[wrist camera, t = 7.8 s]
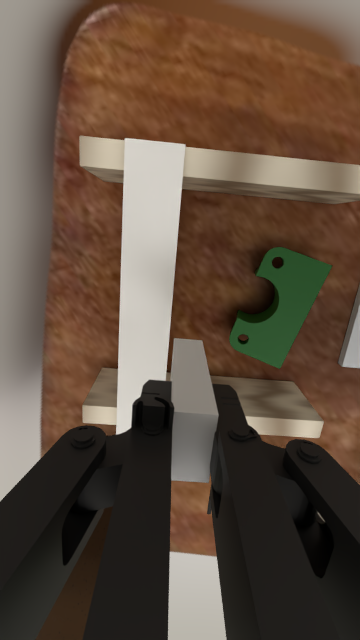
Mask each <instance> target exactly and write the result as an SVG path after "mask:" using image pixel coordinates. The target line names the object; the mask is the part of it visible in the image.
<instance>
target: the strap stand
mask: <svg viewBox="0 0 360 640" xmlns="http://www.w3.org/2000/svg"><path fill="white" fill-rule="evenodd" d="M124 150H125V140H116V139H106V138H97V137H87V136H80V166H81V167H83V168H84V169H86V170H87V171H89V172H90V173H92V174H94V175H95V176H97V177H98V178H100V179H101V180H103V181H106V182H117V183H124ZM182 189H187V190H197V191H207V192H217V193H227V194H237V195H247V196H257V197H267V198H277V199H288V200H298V201H308V202H318V203H328V204H339V203H346V202H353V201H360V165H353V164H343V163H334V162H324V161H315V160H305V159H296V158H286V157H277V156H267V155H258V154H248V153H239V152H229V151H220V150H210V149H201V148H191V147H185V156H184V168H183V179H182ZM170 378H171V373H168V372H166V381H170ZM210 378H211V383H212V384H225V385H230V386H231V387H232V388H233V389H234V390H235V391H236V392H237V395H238V398H239V400H240V403H241V406H242V409H243V412H244V414H245V417H246V420H247V423H248V425H249V426H251V427H252V428H254V429H255V430H256V431H257V432H258V434H264V435H279V436H295V437H310V438H319V437H320V434H321V430H322V426H323V423H324V421H323V420H322V418H321V417H320V416H319V415H318V413H317V412H316V411H315V409H314V408H313V407H312V405H311V404H310V403H309V401H308V400H307V399H306V398H305V396H304V395H303V394H302V392H301V391H300V390H299V388H298V387H297V386H296V384H295V383H294V382H291V381H277V380H264V379H250V378H236V377H223V376H210ZM117 388H118V369H113V368H102V369H101V371H100V373H99V374H98V376H97V378H96V380H95V382H94V384H93V386H92V388H91V390H90V392H89V394H88V396H87V398H86V400H85V401H84V403H83V423H95V424H110V425H116V422H117Z"/></svg>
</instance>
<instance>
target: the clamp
mask: <svg viewBox="0 0 360 640" xmlns="http://www.w3.org/2000/svg"><path fill="white" fill-rule="evenodd" d="M275 257H280V258H281V259H282V265H281V266H280V267H278V268H274V267H273V266H272V260H273V259H274V258H275ZM331 268H332V265H329V264H326V263H324V262H321V261H318V260H316V259H313V258H310V257H308V256H305V255H302V254H299V253H297V252H294V251H291V250H289V249H286V248H283V247H276V248H272V249H270V250H269V251H267V252H266V253H265V255H264V257H263V259H262V261H261V264H260V266H259V268H258V269H256V271H255V275H256V276H260V277H264V278H266V279H268V280H270V281H271V282H272V284H273V286H274V289H275V297H274V300H273V303H272V304H271V306H270V307H269V308H268V309H267V310H265V311H264V312H262V313H259V314H247V313H244V312H242V311H241V310H238V312H237V317H236V321H235V323H234V325H233V328H232V330H231V333H230V338H229V340H230V344H231V346H232V347H233V348H234V349H235V350H237V351H239V352H241V353H244V354H246V355H248V356H251V357H253V358H255V359H258V360H260V361H263V362H265V363H267V364H270V365H272V366H274V367H277V368H279V369H280V368H281V366H282V364H283V362H284V360H285V358H286V356H287V354H288V352H289V350H290V348H291V346H292V344H293V342H294V340H295V338H296V336H297V334H298V332H299V330H300V328H301V326H302V324H303V322H304V320H305V319H306V317H307V315H308V313H309V311H310V309H311V307H312V305H313V303H314V301H315V299H316V297H317V295H318V293H319V291H320V289H321V287H322V285H323V283H324V281H325V279H326V277H327V275H328V273H329V271H330V269H331ZM241 334H245V335H247V336H248V339H247V340H245V341H242V340H240V339H239V338H238V336H239V335H241Z"/></svg>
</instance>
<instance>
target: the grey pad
mask: <svg viewBox="0 0 360 640" xmlns="http://www.w3.org/2000/svg"><path fill="white" fill-rule="evenodd" d="M338 364H340V365H341V366H342V367H352V368H360V284H359V288H358V292H357V295H356V299H355V303H354V306H353V310H352V313H351V317H350V321H349V324H348V328H347V332H346V335H345V339H344V343H343V346H342V350H341V353H340V357H339V361H338Z"/></svg>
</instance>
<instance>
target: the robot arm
mask: <svg viewBox="0 0 360 640" xmlns="http://www.w3.org/2000/svg"><path fill="white" fill-rule="evenodd" d="M210 473H211V481H212V484H211V490H210V497H209V504H208V511H207V514H211V510H212V518H213V527H214V535H215V544H216V552H217V560H218V569H219V578H220V586H221V595H222V603H223V612H224V620H225V629H226V637H227V640H360V485H359V484H358V483H357V482H356V481H355V480H354V479H353V478H352V477H351V476H350V475H349V474H348V473H347V472H346V471H345V470H344V469H343V468H342V467H341V466H340V465H339V464H338V463H337V462H336V461H335V460H334V459H333V457H332V456H331V455H330V454H329V453H328V452H327V451H325V450H324V449H323V448H322V447H320V446H319V445H317V444H315V443H313V442H310V441H307V440H301V439H295V440H292V441H289V442H288V444H287V445H286V449H284V448H280V447H277V446H274V445H271V444H268V443H265V442H263V441H262V440H261V438H260V435H259V434H258V432H257V431H256V430H255V429H254V428H252V427H251V426H249V425H248V423H247V420H246V417H245V414H244V412H243V409H242V406H241V403H240V400H239V398H238V395H237V392H236V391H235V390H234V389H233V388H232V387H231V386H230V385H225V384H212V383H211V378H210V374H209V369H208V365H207V360H206V355H205V351H204V346H203V342H202V340H191V339H178V338H174V345H173V356H172V367H171V378H170V381H161V380H148V381H147V382H146V383H145V384H144V385H143V388H142V392H141V397H139V398H138V399H136V400H135V401H134V403H133V404H132V422H131V428H130V429H129V430H127V431H126V432H123V433H121V434H117V435H112V436H106V435H105V433H104V432H103V431H102V429H100V428H97V427H95V426H87V425H86V426H79V427H76V428H73V429H71V430H69V431H68V432H66V433H65V434H64V435H63V436H62V437H61V438H60V439H59V440H58V441H57V442H56V443H55V444H54V445H53V446H52V447H51V448H50V450H49V451H48V452H47V453H46V454H45V455H44V456H43V457H42V458H41V459H40V460H39V461H38V462H37V463H36V464H35V465H34V466H33V468H32V469H31V470H30V471H29V472H28V473H27V474H26V475H25V476H24V477H23V478H22V479H21V480H20V481H19V482H18V483H17V485H15V487H14V488H13V489H12V490H11V491H10V492H9V493H8V494H7V495H6V496H5V497H4V498H3V499H2V500H1V502H0V640H35V639H36V637H37V635H38V634H39V632H40V630H41V628H42V626H43V624H44V622H45V621H46V619H47V617H48V615H49V613H50V611H51V609H52V607H53V606H54V604H55V602H56V600H57V598H58V596H59V594H60V593H61V591H62V589H63V587H64V585H65V583H66V581H67V579H68V578H69V576H70V574H71V572H72V570H73V568H74V566H75V564H76V563H77V561H78V559H79V557H80V555H81V553H82V551H83V550H84V548H85V546H86V544H87V542H88V540H89V538H90V536H91V535H92V533H93V531H94V529H95V527H96V525H97V523H98V521H99V520H100V518H101V516H102V514H103V511H104V508H108V507H112V506H113V509H112V513H111V517H110V522H109V526H108V530H107V535H106V539H105V543H104V548H103V552H102V556H101V561H100V565H99V570H98V574H97V578H96V583H95V587H94V591H93V596H92V600H91V604H90V609H89V613H88V617H87V622H86V626H85V630H84V635H83V639H82V640H168V596H169V594H168V593H169V553H170V510H171V480H175V481H191V482H206V483H209V476H210ZM318 513H319V514H320V515H321V517H322V518H323V519H322V518H321V517H320V516H319V514H318ZM324 521H325V522H324Z"/></svg>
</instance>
